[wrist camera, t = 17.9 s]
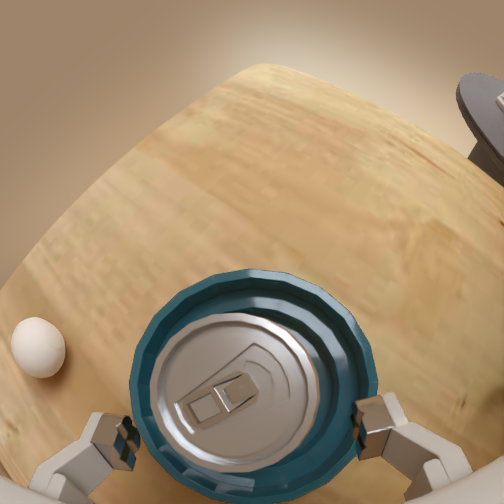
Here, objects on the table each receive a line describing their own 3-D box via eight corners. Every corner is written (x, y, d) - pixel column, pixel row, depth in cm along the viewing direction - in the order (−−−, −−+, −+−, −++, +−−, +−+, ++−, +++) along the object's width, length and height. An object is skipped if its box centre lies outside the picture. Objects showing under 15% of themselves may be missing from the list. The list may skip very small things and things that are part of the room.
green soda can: (241, 441, 17) (198, 504, 6) (201, 375, 19) (116, 355, 9) (311, 401, 18) (359, 419, 7) (269, 336, 20) (262, 273, 9)
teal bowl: (254, 255, 24) (249, 226, 20) (394, 378, 19) (422, 374, 15) (121, 381, 20) (89, 376, 16) (255, 516, 15) (250, 542, 11)
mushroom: (71, 318, 22) (34, 301, 18) (83, 372, 20) (45, 364, 16) (34, 336, 22) (-3, 321, 17) (44, 386, 20) (5, 379, 15)
